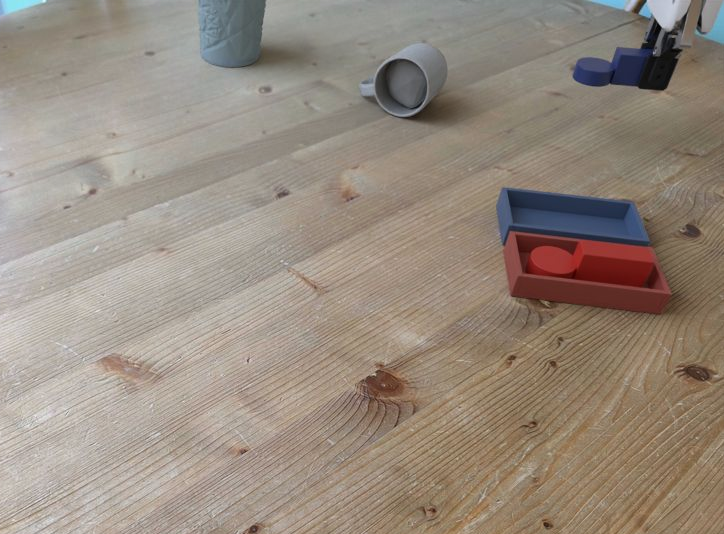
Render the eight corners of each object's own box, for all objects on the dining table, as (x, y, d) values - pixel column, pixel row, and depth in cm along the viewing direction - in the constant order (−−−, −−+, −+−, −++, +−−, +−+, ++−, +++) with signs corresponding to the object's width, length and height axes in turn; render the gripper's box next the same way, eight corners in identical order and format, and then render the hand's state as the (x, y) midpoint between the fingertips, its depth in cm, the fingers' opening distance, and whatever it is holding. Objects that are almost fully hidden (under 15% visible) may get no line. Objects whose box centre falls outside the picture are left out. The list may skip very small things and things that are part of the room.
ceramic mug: (445, 100, 100) (457, 43, 95) (423, 124, 95) (434, 65, 90) (372, 81, 104) (380, 25, 99) (347, 103, 99) (354, 45, 94)
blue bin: (625, 221, 82) (634, 201, 80) (640, 261, 76) (650, 241, 75) (495, 206, 83) (501, 186, 81) (502, 245, 77) (508, 225, 76)
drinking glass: (183, 59, 106) (181, -31, 98) (213, 35, 113) (214, -52, 104) (249, 75, 103) (253, -17, 95) (276, 48, 110) (282, -40, 102)
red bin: (642, 267, 76) (653, 247, 74) (660, 314, 70) (672, 294, 69) (503, 250, 77) (509, 230, 75) (510, 296, 71) (517, 275, 70)
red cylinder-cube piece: (631, 270, 74) (646, 241, 72) (641, 299, 71) (657, 269, 69) (522, 257, 75) (533, 228, 73) (528, 285, 72) (539, 255, 69)
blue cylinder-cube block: (659, 77, 91) (671, 47, 88) (668, 93, 88) (681, 62, 85) (569, 70, 92) (578, 40, 89) (575, 85, 89) (585, 55, 86)
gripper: (782, -67, 71) (699, 116, 83) (728, -108, 82) (662, 59, 95) (700, -73, 71) (629, 110, 84) (658, -112, 83) (601, 54, 96)
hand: (647, 81), depth 89 cm, fingers closed on blue cylinder-cube block, 2 cm apart
